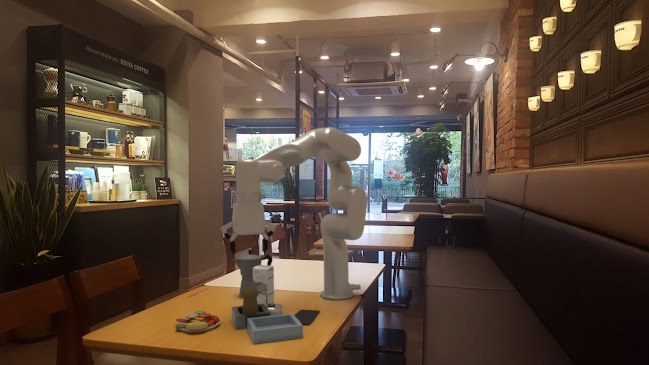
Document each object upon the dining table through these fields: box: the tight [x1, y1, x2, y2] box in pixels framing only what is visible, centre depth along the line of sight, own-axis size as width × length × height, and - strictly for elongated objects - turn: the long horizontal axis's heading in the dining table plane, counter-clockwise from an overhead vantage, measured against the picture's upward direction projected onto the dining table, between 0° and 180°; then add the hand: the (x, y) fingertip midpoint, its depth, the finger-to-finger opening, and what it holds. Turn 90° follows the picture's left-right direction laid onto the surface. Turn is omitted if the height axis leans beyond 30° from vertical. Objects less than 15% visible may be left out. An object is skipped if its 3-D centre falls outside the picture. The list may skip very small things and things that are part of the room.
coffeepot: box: [233, 249, 273, 300], centre depth 171 cm, size 15×9×18 cm, turn 113°
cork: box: [242, 287, 259, 314], centre depth 139 cm, size 6×6×11 cm
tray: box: [246, 313, 304, 345], centre depth 128 cm, size 14×12×4 cm
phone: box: [294, 309, 321, 327], centre depth 143 cm, size 7×1×15 cm
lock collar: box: [231, 302, 283, 330], centre depth 142 cm, size 17×15×4 cm
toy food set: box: [175, 310, 221, 334], centre depth 136 cm, size 13×13×3 cm
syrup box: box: [253, 264, 275, 305], centre depth 155 cm, size 6×6×14 cm
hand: (249, 252), depth 139 cm, fingers open, 9 cm apart
